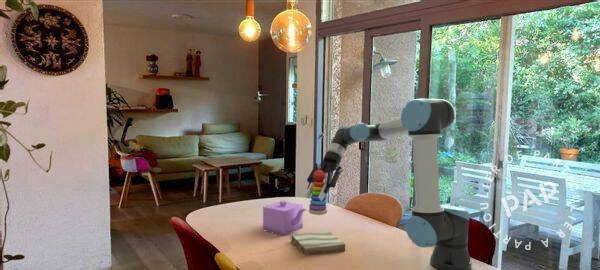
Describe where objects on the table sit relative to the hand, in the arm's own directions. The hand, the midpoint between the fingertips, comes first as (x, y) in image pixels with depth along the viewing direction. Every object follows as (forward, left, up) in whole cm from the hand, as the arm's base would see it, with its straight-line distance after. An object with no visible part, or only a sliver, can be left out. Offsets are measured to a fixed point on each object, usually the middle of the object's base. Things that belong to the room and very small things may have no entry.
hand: (313, 197), depth 181 cm
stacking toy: (+2, -3, -8) cm, 8 cm away
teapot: (+28, +4, -22) cm, 36 cm away
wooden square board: (+2, -3, -22) cm, 22 cm away
